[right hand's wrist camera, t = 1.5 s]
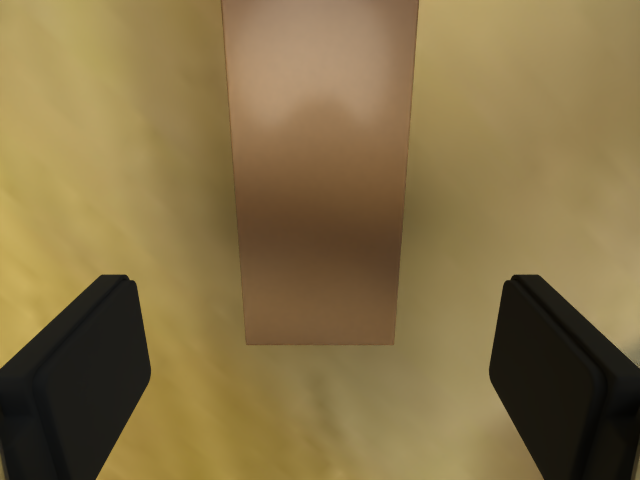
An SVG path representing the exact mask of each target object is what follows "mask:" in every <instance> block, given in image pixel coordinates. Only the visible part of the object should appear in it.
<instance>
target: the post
mask: <svg viewBox="0 0 640 480" xmlns="http://www.w3.org/2000/svg"><path fill="white" fill-rule="evenodd" d="M221 8H222V21H223V35H224V49H225V62H226V76H227V90H228V104H229V117H230V131H231V145H232V158H233V172H234V186H235V199H236V213H237V227H238V240H239V254H240V268H241V282H242V295H243V309H244V323H245V336H246V345H394V337H395V323H396V309H397V296H398V282H399V268H400V255H401V241H402V227H403V214H404V200H405V186H406V172H407V159H408V145H409V131H410V118H411V104H412V90H413V77H414V63H415V49H416V36H417V22H418V8H419V0H221Z"/></svg>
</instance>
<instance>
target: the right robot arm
mask: <svg viewBox="0 0 640 480" xmlns="http://www.w3.org/2000/svg"><path fill="white" fill-rule="evenodd" d="M150 376H151V366H150V360H149V355H148V349H147V343H146V337H145V331H144V325H143V319H142V314H141V308H140V302H139V296H138V290H137V285H136V283H135V281H134V280H129V278H128V276H127V275H101V276H99V277H98V278H97V279H96V280H95V281H94V282H93V283H92V284H91V285H90V286H89V287H88V288H86V289H85V290H84V291H83V292H82V293H81V294H80V295H79V296H78V297H77V298H76V299H75V300H74V301H73V302H71V303H70V304H69V305H68V306H67V307H66V308H65V309H64V310H63V311H62V312H61V313H60V314H59V315H58V316H57V317H55V318H54V319H53V320H52V321H51V322H50V323H49V324H48V325H47V326H46V327H45V328H44V329H43V330H42V331H40V332H39V333H38V334H37V335H36V336H35V337H34V338H33V339H32V340H31V341H30V342H29V343H28V344H27V345H25V346H24V347H23V348H22V349H21V350H20V351H19V352H18V353H17V354H16V355H15V356H14V357H13V358H12V359H10V360H9V361H8V362H7V363H6V364H5V365H4V366H3V367H2V368H1V369H0V480H96V478H97V476H98V474H99V472H100V471H101V469H102V467H103V465H104V463H105V461H106V460H107V458H108V456H109V454H110V452H111V451H112V449H113V447H114V445H115V443H116V441H117V440H118V438H119V436H120V434H121V432H122V430H123V429H124V427H125V425H126V423H127V421H128V420H129V418H130V416H131V414H132V412H133V410H134V409H135V407H136V405H137V403H138V401H139V399H140V398H141V396H142V394H143V392H144V390H145V389H146V387H147V385H148V383H149V380H150ZM489 376H490V380H491V383H492V385H493V387H494V389H495V390H496V392H497V394H498V396H499V398H500V399H501V401H502V403H503V405H504V407H505V409H506V410H507V412H508V414H509V416H510V418H511V420H512V421H513V423H514V425H515V427H516V429H517V430H518V432H519V434H520V436H521V438H522V440H523V441H524V443H525V445H526V447H527V449H528V451H529V452H530V454H531V456H532V458H533V460H534V461H535V463H536V465H537V467H538V469H539V471H540V472H541V474H542V476H543V478H544V480H640V369H639V368H638V367H637V366H636V365H635V364H634V363H633V362H632V361H631V360H630V359H628V358H627V357H626V356H625V355H624V354H623V353H622V352H621V351H620V350H619V349H618V348H617V347H616V346H615V345H613V344H612V343H611V342H610V341H609V340H608V339H607V338H606V337H605V336H604V335H603V334H602V333H601V332H600V331H598V330H597V329H596V328H595V327H594V326H593V325H592V324H591V323H590V322H589V321H588V320H587V319H586V318H585V317H583V316H582V315H581V314H580V313H579V312H578V311H577V310H576V309H575V308H574V307H573V306H572V305H571V304H570V303H569V302H567V301H566V300H565V299H564V298H563V297H562V296H561V295H560V294H559V293H558V292H557V291H556V290H555V289H554V288H552V287H551V286H550V285H549V284H548V283H547V282H546V281H545V280H544V279H543V278H542V277H541V276H539V275H513V276H512V278H511V280H506V281H505V283H504V285H503V290H502V296H501V302H500V308H499V314H498V319H497V325H496V331H495V337H494V343H493V349H492V355H491V360H490V366H489Z"/></svg>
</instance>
